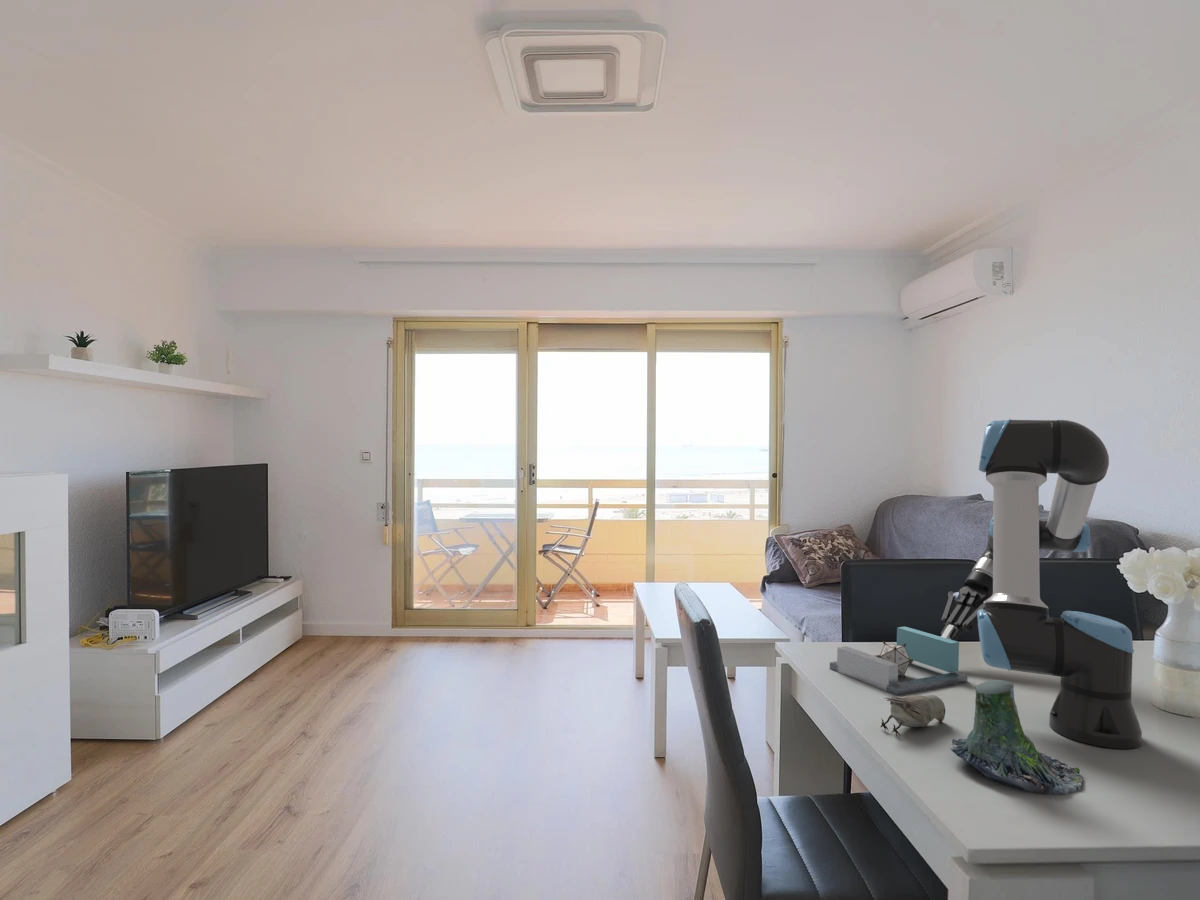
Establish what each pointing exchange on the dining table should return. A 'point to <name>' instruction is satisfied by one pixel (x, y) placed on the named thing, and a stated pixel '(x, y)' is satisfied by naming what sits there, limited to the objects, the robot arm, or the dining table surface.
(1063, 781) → the tree stump
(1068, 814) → the dining table surface
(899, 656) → the game die
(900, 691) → the vise base
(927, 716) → the decorative bird
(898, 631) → the sliding jaw
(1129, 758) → the dining table surface
